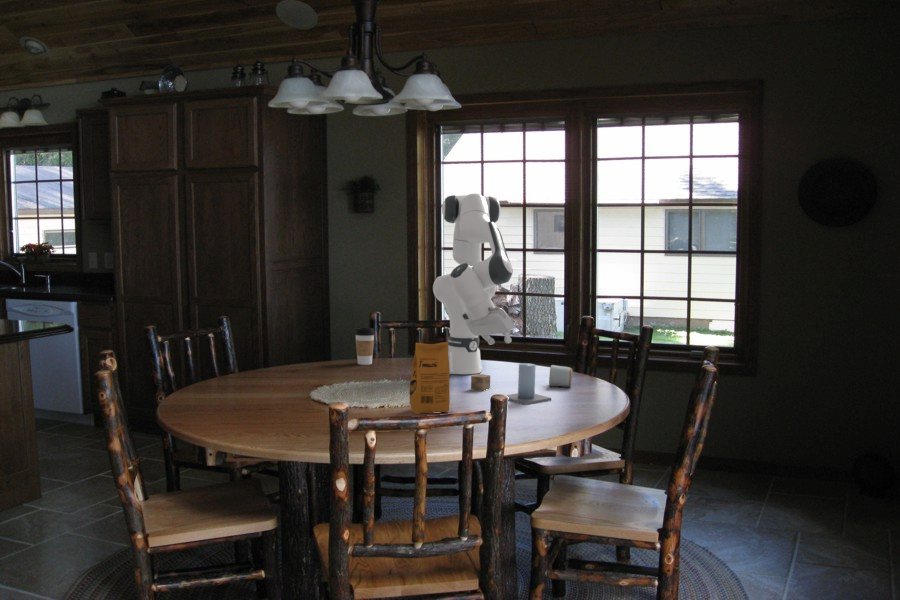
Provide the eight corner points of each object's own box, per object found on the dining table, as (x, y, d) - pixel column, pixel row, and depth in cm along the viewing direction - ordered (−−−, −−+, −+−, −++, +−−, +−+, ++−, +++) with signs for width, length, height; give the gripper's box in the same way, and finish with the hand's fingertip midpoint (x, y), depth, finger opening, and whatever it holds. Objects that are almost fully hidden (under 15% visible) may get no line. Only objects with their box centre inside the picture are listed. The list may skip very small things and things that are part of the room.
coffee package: (408, 408, 272) (408, 340, 270) (445, 406, 275) (446, 339, 272) (412, 415, 263) (412, 345, 260) (451, 413, 265) (452, 344, 263)
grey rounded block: (571, 388, 306) (571, 367, 305) (548, 387, 307) (549, 366, 306) (572, 383, 316) (573, 363, 315) (550, 382, 317) (551, 362, 317)
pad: (501, 398, 288) (501, 396, 288) (527, 394, 295) (527, 391, 295) (525, 404, 279) (525, 402, 279) (551, 400, 286) (551, 397, 286)
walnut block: (470, 389, 303) (471, 375, 302) (478, 387, 307) (478, 373, 306) (482, 391, 300) (483, 377, 299) (490, 389, 304) (490, 375, 304)
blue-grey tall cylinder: (514, 396, 288) (515, 364, 287) (526, 394, 291) (527, 362, 290) (525, 399, 283) (526, 366, 282) (537, 397, 287) (539, 365, 286)
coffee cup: (353, 365, 349) (353, 329, 347) (356, 361, 357) (356, 326, 356) (373, 365, 348) (373, 329, 347) (376, 362, 357) (376, 326, 355)
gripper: (506, 301, 277) (525, 336, 280) (470, 306, 294) (489, 339, 297) (493, 311, 274) (513, 346, 277) (458, 316, 291) (477, 349, 294)
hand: (500, 343), depth 287 cm, fingers open, 8 cm apart
